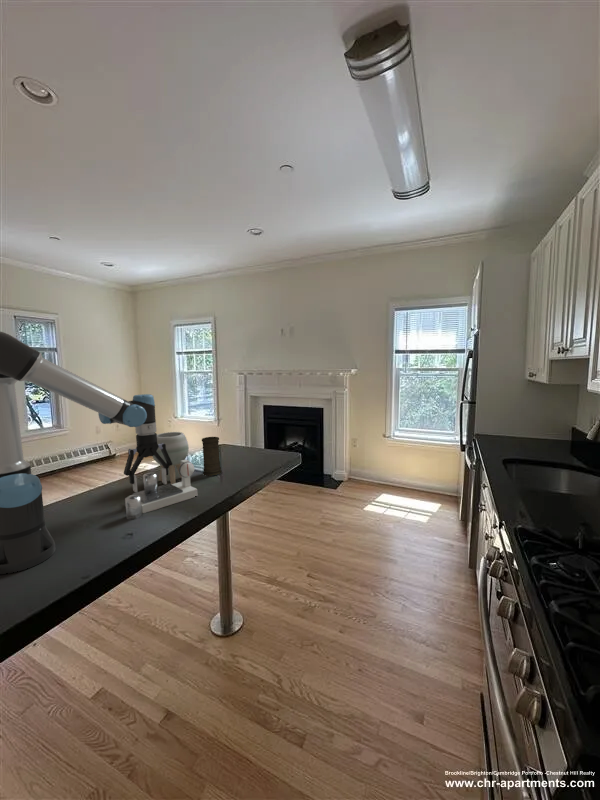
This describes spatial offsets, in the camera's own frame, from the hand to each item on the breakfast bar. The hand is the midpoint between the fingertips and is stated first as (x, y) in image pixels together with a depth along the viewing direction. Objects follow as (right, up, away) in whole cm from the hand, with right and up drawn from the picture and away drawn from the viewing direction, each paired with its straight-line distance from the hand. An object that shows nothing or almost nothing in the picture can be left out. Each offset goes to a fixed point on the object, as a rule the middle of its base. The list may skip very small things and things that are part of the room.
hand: (150, 487), depth 136 cm
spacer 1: (0, -7, -13) cm, 15 cm away
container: (+16, -2, +33) cm, 37 cm away
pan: (+3, -2, -1) cm, 4 cm away
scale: (+5, -5, +1) cm, 7 cm away
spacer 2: (0, -2, 0) cm, 2 cm away
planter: (0, -3, +23) cm, 23 cm away
